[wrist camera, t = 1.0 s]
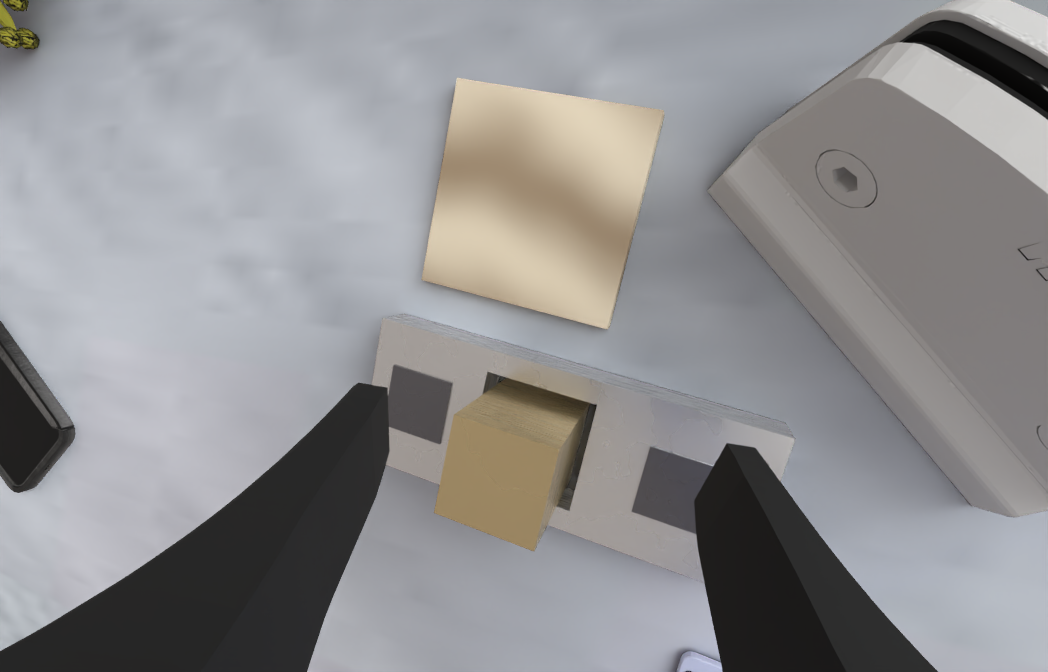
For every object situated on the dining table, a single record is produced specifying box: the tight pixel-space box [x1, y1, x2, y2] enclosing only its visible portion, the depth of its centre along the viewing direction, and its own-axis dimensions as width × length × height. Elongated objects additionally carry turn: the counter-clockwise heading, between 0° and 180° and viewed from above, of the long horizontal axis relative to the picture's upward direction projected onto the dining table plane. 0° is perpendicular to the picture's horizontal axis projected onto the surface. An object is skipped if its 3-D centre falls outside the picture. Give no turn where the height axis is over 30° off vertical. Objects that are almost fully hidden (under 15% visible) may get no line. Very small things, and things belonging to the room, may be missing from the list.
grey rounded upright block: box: [707, 0, 1048, 517], centre depth 16 cm, size 17×5×10 cm, turn 40°
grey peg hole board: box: [372, 314, 795, 583], centre depth 24 cm, size 7×18×2 cm, turn 77°
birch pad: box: [422, 78, 664, 329], centre depth 23 cm, size 9×9×1 cm
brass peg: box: [434, 378, 590, 551], centre depth 22 cm, size 4×4×6 cm
